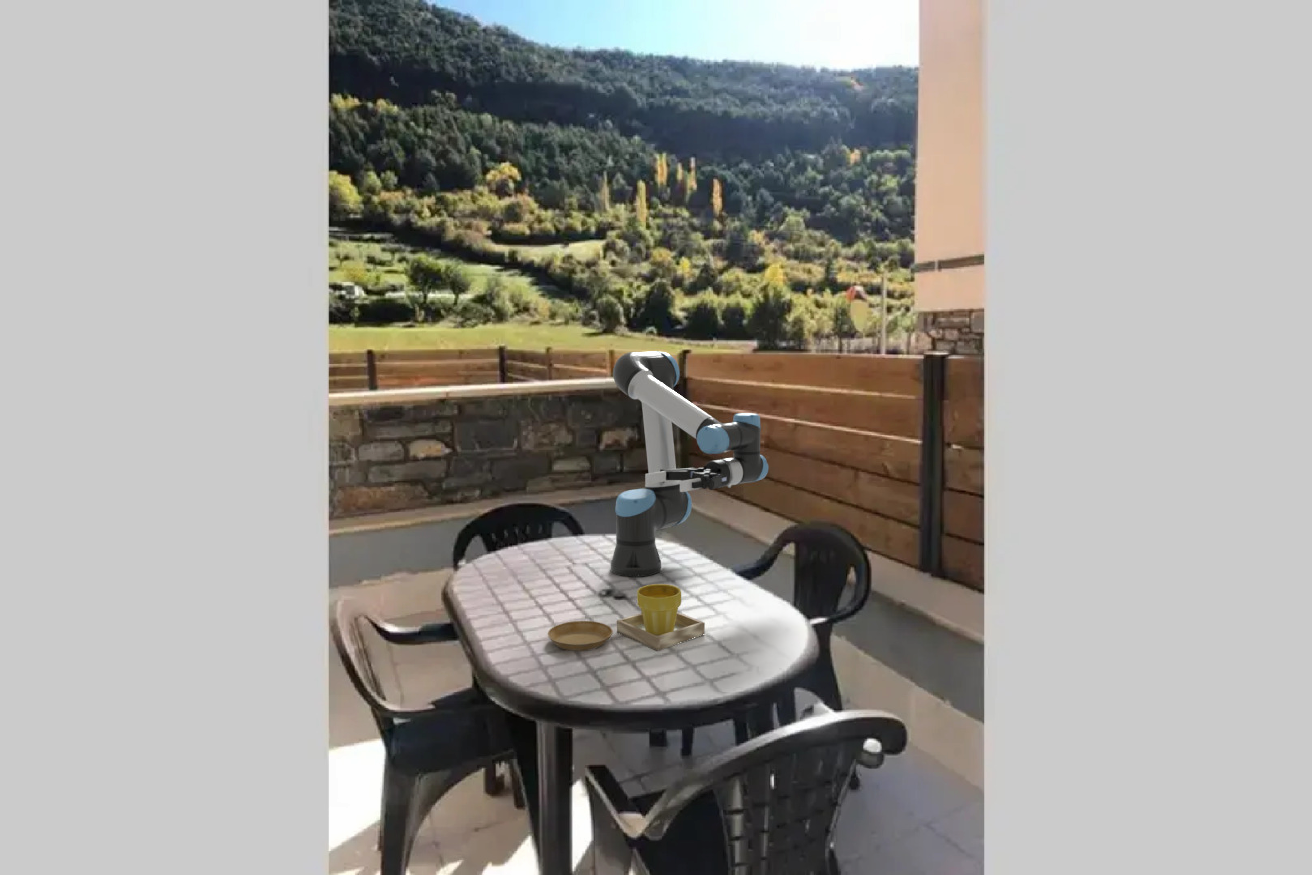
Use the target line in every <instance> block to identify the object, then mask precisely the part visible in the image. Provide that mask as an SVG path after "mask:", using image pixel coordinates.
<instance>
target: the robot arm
mask: <svg viewBox="0 0 1312 875" xmlns="http://www.w3.org/2000/svg"><path fill="white" fill-rule="evenodd" d="M612 377H613V381H614V383H615V385H616V386H617V388H618V389H619V390H620V391H622V393H624V394H625V395H626V396H628V397H629V398H630V399H632V400H638V401H640V402H641V409H642V418H643V419H642V420H643V428H644V439H645V440H644V441H645V450H646V459H647V470H648V473H645V474H644V475H645V478H644V479H645V482H644V483H645V484H644V488H637V489H629V490H625V491H623V492H621V493H620V494H619V495H617V497H616V501H615V509H614V511H615V539H616V541H615V542H616V543H615V547H614V551H613V554H612V559H611V560H610V571H611V572H612V573H614V574H615V575H619V576H623V577H648V576H653V575H656V574H658V573H659V572H661V571H662V561H661V558H660V555H659V551H658V548H657V545H656V531H658V530H662V529H666V528H670V527H676V526H677V525H679V524H680V525H681V523H683V522H685V521H686V520H687V519H688V518H689V517H690V515H691V512H692V508H693V507H692V506H693V500H692V497H691V495H690V493H688V492H690V491H696V490H700V489H701V490H702V489H703V490H705V489H706V490H707V489H708V490H709V491H711V490H715V489H719V488H720V489H721V488H724V487H727V488H729V489H730V488H732V486H735V485H740V484H746V483H747V484H748V483H754V482H758V481H760V480H763V479H764V478H766V476H767V475H768V473H769V463H768V462H767V459H766V458H765V456H764V455H762V454H761V430H762V427H761V416H760V415H759V414H757V413H752V412H750V413H749V412H748V413H747V412H741V413H735V414H734V415H733V419H732V422H726V423H722V422H721V421H719V420H717V419H716V418H715V417H713V416H712V415H710V414H709V413H707V412H706V411H704V410H702V409H701V408H700V407H698V406H697V405H695V404H694V403H692V402H691V401H689V399H686V398H685V397H683V396H682V395H680V394H679V393H677V392H676V391H675V390H674V387H675V386H676V385H677V383H678V381H679V380H680V367H679V364H678V362H677V360H676V359H675V358H674V357H673V355H671V354H669V353H668V352H665V351H658V350H657V351H656V350H653V351H631V352H630V351H629V352H627V353H624V354H622V355H621V356H620V357H619V358H618V359H617V360H616V361H615V364H614V365H613V368H612ZM673 424H674V425H676V426H677V427H678V428H680V429H681V430H682V431H684V432H685V433H687V434H688V435H689V436H691V437H692V438H694V439H696V443H697V445H698V447H699V449H700V451H702V452H703V453H705V454H706V455H707V454H708V455H714V454H715V455H718V454H722V453H727V452H732V453H733V454H732V455H733V457H727V458H720V459H716V460H714V459H713V460H710V461H707V462H706V464H705V465H704V467H698V468H695V467H693V466H692V467H686V468H677V465H676V455H675V445H674V443H675V442H674V435H673V434H674V432H673Z"/></svg>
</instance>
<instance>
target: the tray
mask: <svg viewBox="0 0 1312 875" xmlns="http://www.w3.org/2000/svg"><path fill="white" fill-rule="evenodd" d="M705 625H706V623H705V622H704V621H701V620H700V619H696V618H694V617H691V616H689V615H686V614H684V613H681V612H678V611H677V616H676V621H675V627H674V631H672V632H669V633H666V634H662V635H653V634H651V633H649V632H647V631H646V630H645V625H644V621H643V616H642V612H641V613H638V614H634V615H630V616H628V617H627V616H626V617H624V618H621V619H616V633H617V634H619V633H620V634H619V635H621V634H622V635H621V636H624V637H625V638H627V637H628V638H627V639H629V640H632V641H635V642H637V643H638V642H639V643H638V644H640V643H641V645H643V646H645V647H648V648H649V649H651V650H653V651H656V652H658V650H659V651H661V650H664V649H668V648H670V647H674V646H676V645H678V643H679V644H681V643H680V642H682V643H684V641H685V642H688V641H690V640H689V639H691V640H693V639H692V638H694V637H697V638H700V637H702V636H701V635H703V634H705V631H706V630H705V628H706V627H705ZM705 635H706V634H705ZM699 636H700V637H699ZM703 636H704V635H703ZM694 639H695V638H694ZM687 640H688V641H687ZM675 644H676V645H675ZM669 646H670V647H669Z"/></svg>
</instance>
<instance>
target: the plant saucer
mask: <svg viewBox="0 0 1312 875" xmlns="http://www.w3.org/2000/svg"><path fill="white" fill-rule="evenodd" d="M613 632H614V631H613V629H612V627H610V626H609V625H608V624H606V623H602V622H599V621H591V620H575V621H570V622H568V621H567V622H563V623H561V624H557V625H553V627H551V628H550V629H549V630H548V632H547V635H548V638H549V639H550V640H551V641H552V642H553V643H554V644H555V645H556V646H557V647H559V648H560V649H563V650H566V651H570V652H583V651H584V652H586V651H591V650H595V649H597V648H600V647H601V646H603V645H604V644H605V643H606V642H607V641H608V640H609V639H610V637H611V636H612V635H613Z"/></svg>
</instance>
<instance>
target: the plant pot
mask: <svg viewBox="0 0 1312 875" xmlns="http://www.w3.org/2000/svg"><path fill="white" fill-rule="evenodd" d="M636 601H637V606H638V608H640V612H641V613H642V616H643V621H644V625H645V630H646V631H647V632H649V633H651V634H653V635H662V634H666V633H669V632H672V631H674V627H675V621H676V616H677V612H678V610H679V608H680V607H681V605H682V590H681V589H680V588H679V587H678V586H676V585H673V584H672V585H671V584H665V583H653V584H648V585H644V586H641V587H639V588H638V589H637V590H636Z"/></svg>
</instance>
